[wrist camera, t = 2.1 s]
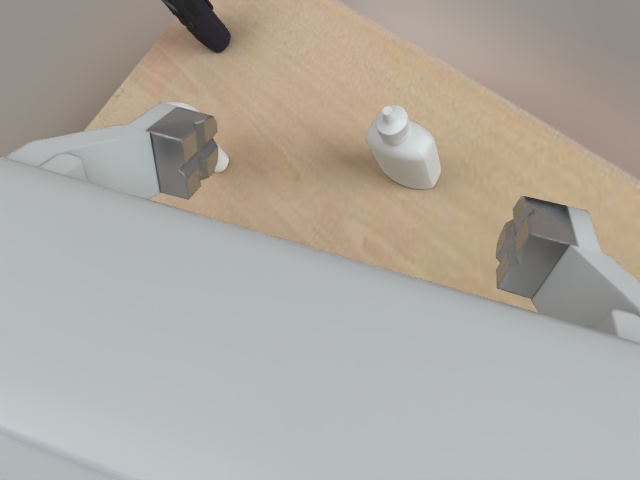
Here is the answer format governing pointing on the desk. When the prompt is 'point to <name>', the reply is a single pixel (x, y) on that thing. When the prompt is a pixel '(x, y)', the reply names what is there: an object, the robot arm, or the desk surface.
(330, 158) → the desk surface
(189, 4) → the two-way radio
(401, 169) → the eye dropper bottle
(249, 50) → the desk surface
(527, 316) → the robot arm
